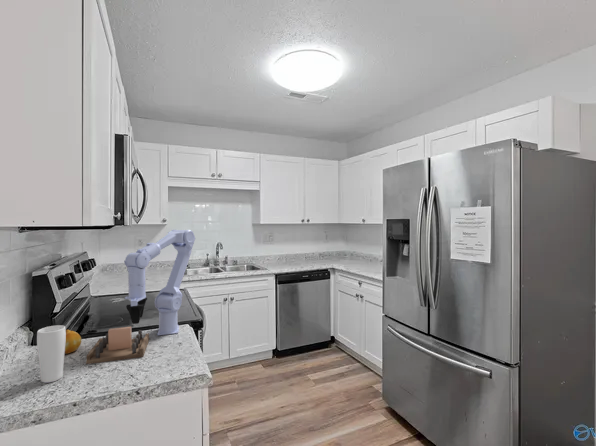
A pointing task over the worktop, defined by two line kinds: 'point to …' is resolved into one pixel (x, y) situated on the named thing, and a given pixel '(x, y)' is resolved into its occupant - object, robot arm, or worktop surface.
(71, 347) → the fruit
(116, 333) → the pink square slab
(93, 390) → the worktop surface
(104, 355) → the rack
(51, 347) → the drinking glass
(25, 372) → the worktop surface
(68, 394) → the worktop surface
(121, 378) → the worktop surface
